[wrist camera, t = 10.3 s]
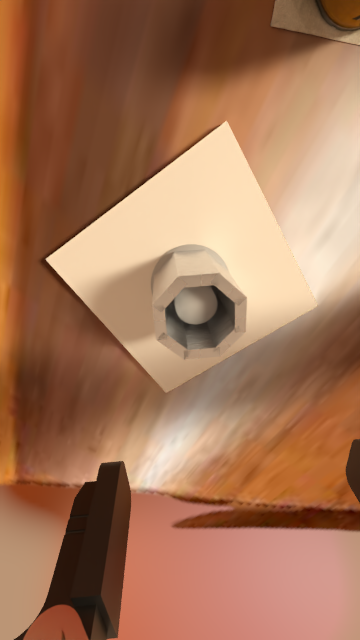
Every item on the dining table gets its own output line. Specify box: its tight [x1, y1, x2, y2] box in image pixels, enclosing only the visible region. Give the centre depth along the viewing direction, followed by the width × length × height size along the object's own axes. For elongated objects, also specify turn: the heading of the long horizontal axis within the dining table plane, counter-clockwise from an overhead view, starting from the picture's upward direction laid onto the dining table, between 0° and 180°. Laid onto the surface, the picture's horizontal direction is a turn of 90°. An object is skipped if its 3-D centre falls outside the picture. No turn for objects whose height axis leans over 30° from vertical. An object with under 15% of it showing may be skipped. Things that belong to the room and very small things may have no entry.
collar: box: [152, 249, 247, 360], centre depth 23 cm, size 6×6×7 cm
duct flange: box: [46, 121, 318, 393], centre depth 25 cm, size 18×18×6 cm
